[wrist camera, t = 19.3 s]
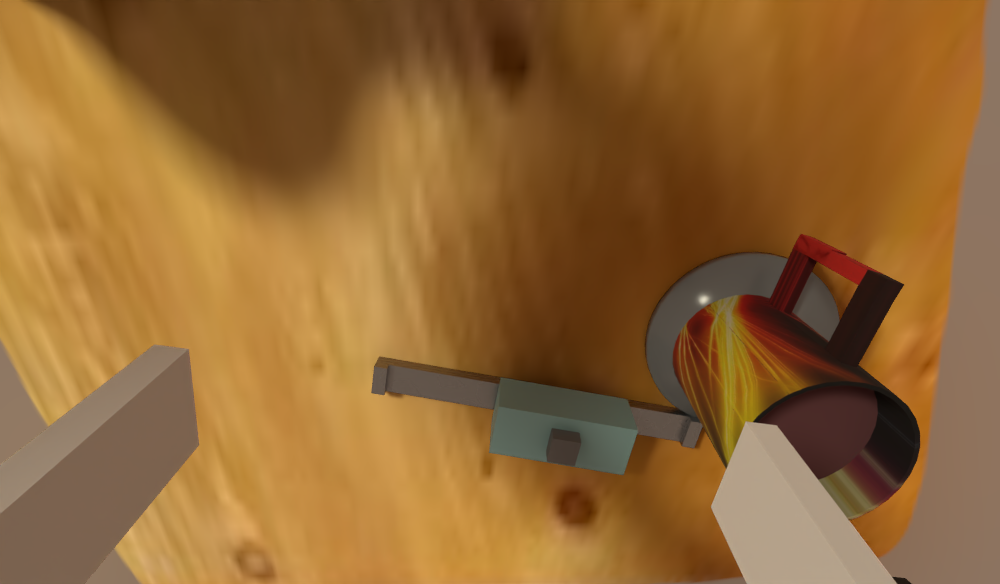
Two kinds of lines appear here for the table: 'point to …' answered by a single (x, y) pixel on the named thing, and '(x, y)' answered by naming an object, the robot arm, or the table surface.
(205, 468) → the table surface
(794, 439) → the mug
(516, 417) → the latch block
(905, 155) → the table surface
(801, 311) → the coaster
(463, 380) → the rail
